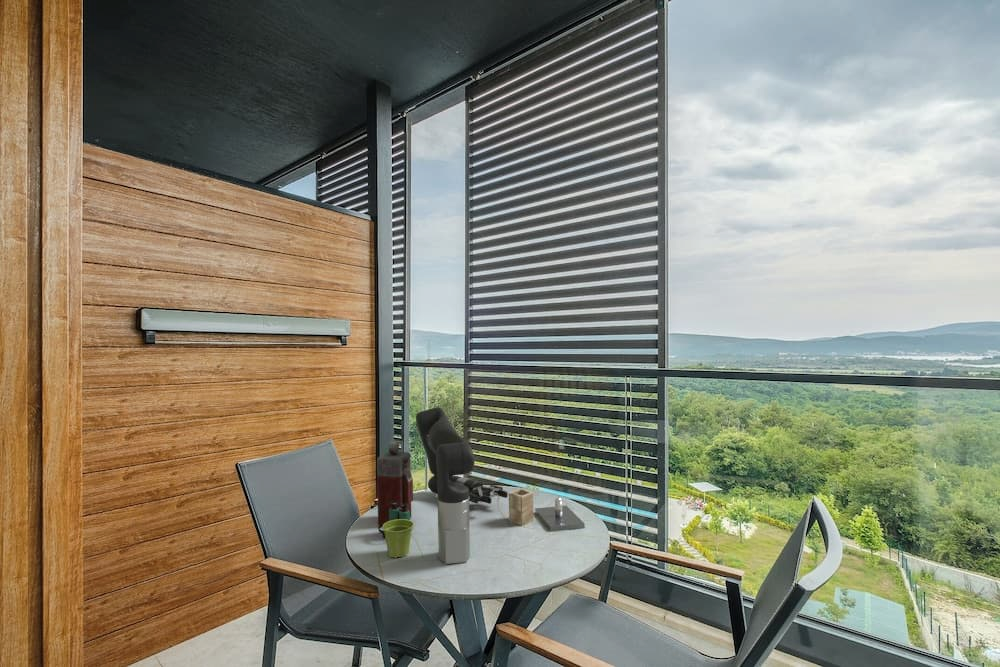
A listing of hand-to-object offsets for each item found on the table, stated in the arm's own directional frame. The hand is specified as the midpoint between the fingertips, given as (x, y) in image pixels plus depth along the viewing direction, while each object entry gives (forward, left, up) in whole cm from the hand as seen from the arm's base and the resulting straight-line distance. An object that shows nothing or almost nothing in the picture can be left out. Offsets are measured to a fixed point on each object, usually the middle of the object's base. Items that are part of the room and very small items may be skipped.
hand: (499, 497), depth 181 cm
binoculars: (-12, +37, -6) cm, 39 cm away
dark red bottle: (+3, +36, -6) cm, 37 cm away
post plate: (-10, -19, -6) cm, 23 cm away
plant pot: (-24, +36, -6) cm, 44 cm away
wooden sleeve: (-8, -6, -6) cm, 12 cm away
